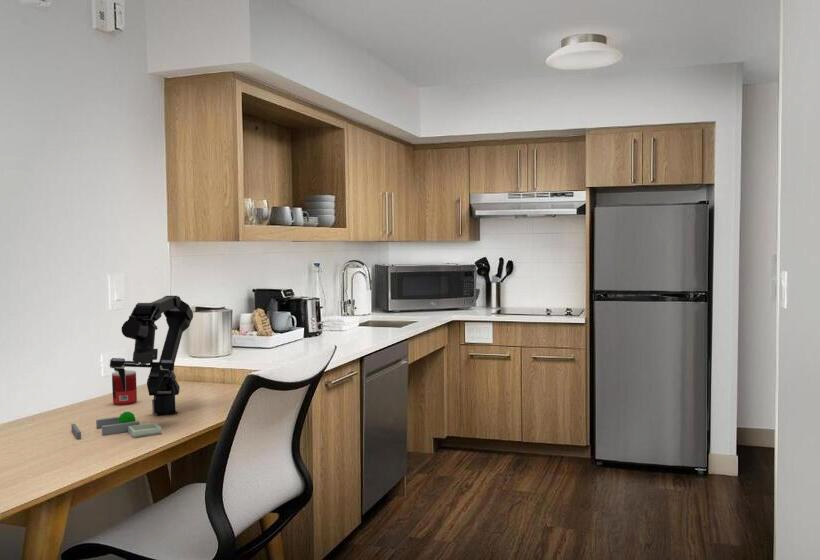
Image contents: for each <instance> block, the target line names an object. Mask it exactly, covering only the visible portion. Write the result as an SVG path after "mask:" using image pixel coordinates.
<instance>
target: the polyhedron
mask: <svg viewBox="0 0 820 560" xmlns="http://www.w3.org/2000/svg"><path fill="white" fill-rule="evenodd" d="M119 416H120V417H119ZM119 416H118V417H119V419H118V420H119V423H127V422H134V421H137V420H136V416H135V414H134V413H133V412H130V411H124V412H123V413H121V414H120V415H119Z"/></svg>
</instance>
